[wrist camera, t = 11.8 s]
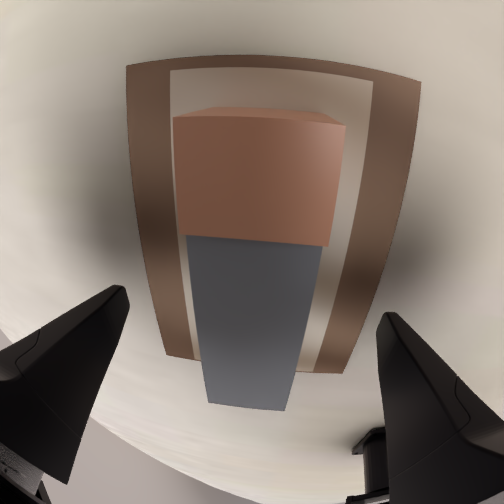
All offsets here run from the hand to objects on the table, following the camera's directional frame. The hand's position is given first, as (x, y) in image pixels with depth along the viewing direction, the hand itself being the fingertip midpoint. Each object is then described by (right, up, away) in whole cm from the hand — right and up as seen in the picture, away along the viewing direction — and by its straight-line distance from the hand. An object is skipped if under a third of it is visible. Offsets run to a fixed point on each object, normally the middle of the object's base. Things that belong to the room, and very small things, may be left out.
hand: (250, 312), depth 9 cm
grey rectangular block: (0, +2, +3) cm, 3 cm away
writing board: (0, +2, +3) cm, 4 cm away
